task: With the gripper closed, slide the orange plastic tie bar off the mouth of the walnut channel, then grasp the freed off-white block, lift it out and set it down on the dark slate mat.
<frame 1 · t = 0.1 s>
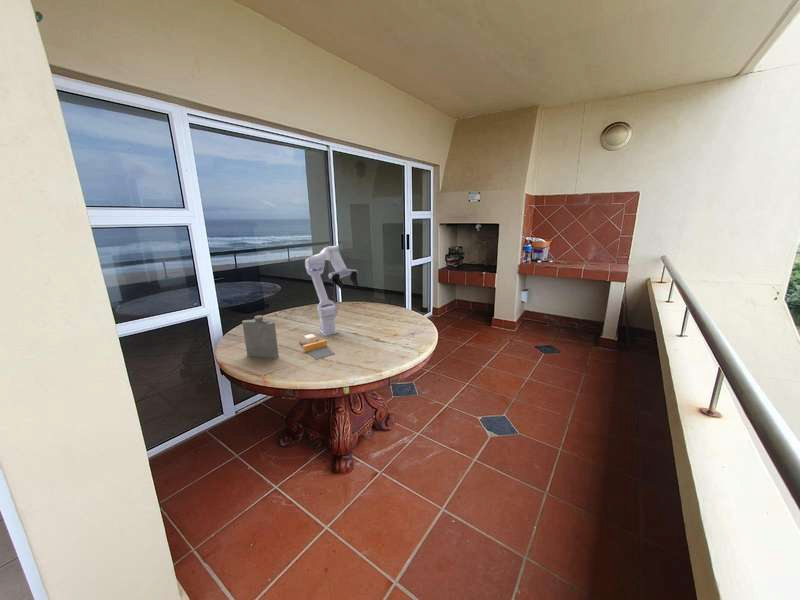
hand: (349, 287, 152), 32 cm above the table, tool tilted 50°, fingers open, 7 cm apart
white block: (310, 345, 166), on the table
slate mat: (321, 353, 156), on the table
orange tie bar: (315, 345, 161), point 2 cm above the table, slide at 0.0 cm
walnut channel: (310, 344, 166), on the table
hip flask: (263, 356, 154), on the table
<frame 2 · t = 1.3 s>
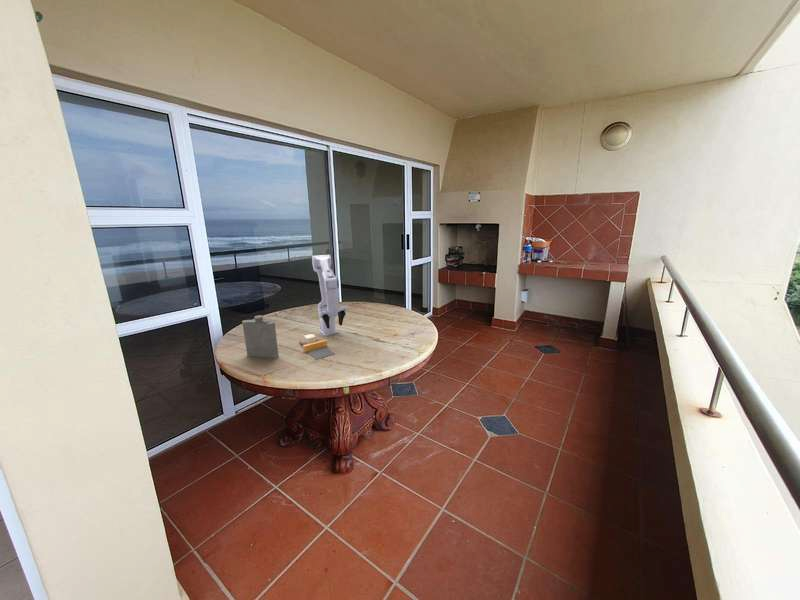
hand: (334, 326, 165), 9 cm above the table, tool pointing down, fingers open, 6 cm apart
nothing on the table moved.
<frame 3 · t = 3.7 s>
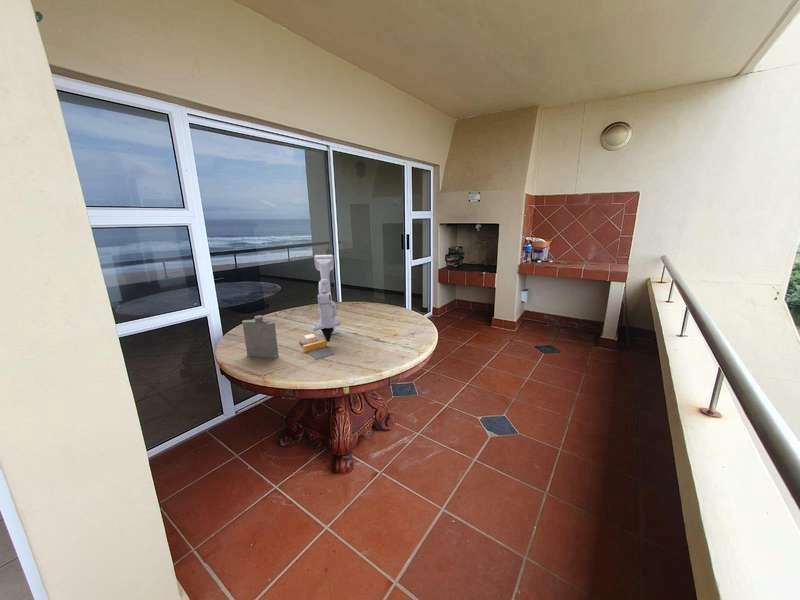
hand: (327, 341, 165), 2 cm above the table, tool pointing down, fingers closed
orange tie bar: (315, 345, 161), point 2 cm above the table, slide at 0.0 cm, touching gripper
everything else where it was.
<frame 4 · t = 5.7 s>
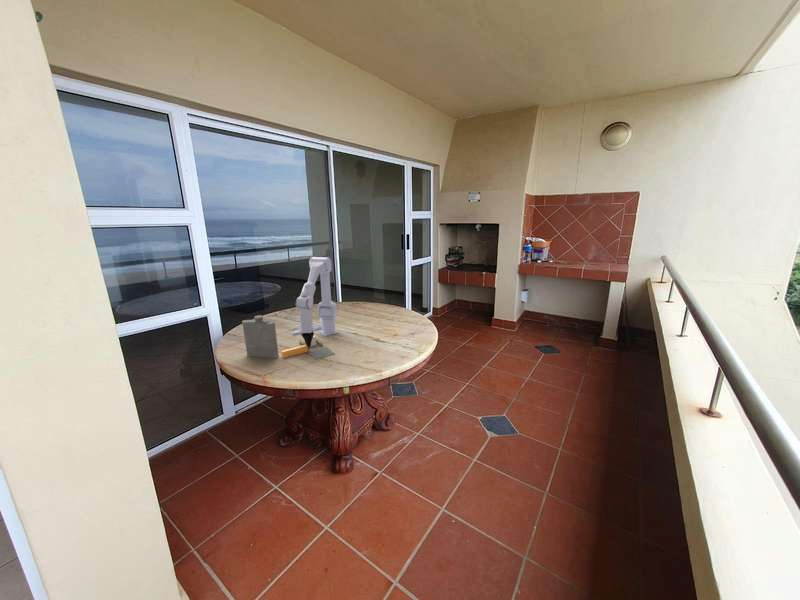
hand: (308, 346, 159), 2 cm above the table, tool pointing down, fingers closed
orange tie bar: (294, 351, 155), point 2 cm above the table, slide at 10.4 cm, touching gripper
everything else where it was.
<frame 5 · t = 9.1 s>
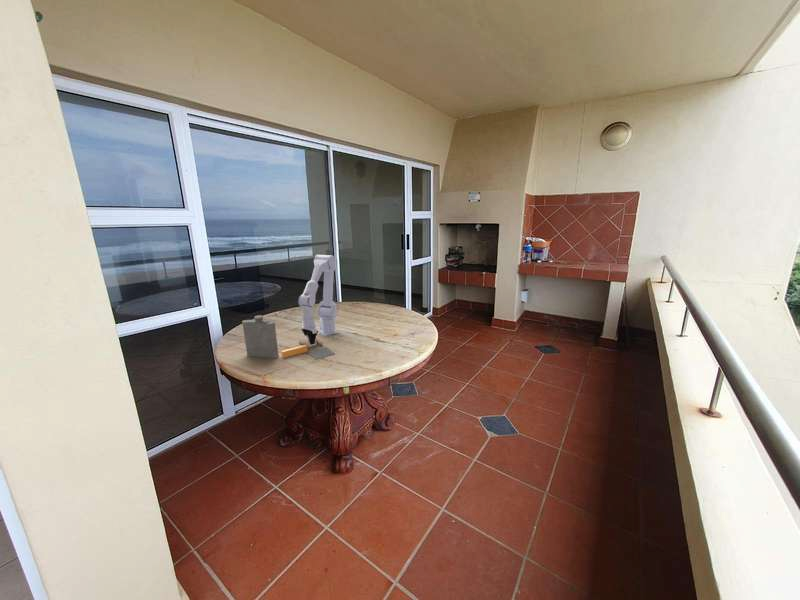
hand: (310, 342, 166), 1 cm above the table, tool pointing down, fingers closed on white block, 4 cm apart
white block: (310, 344, 166), on the table, touching gripper
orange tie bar: (294, 351, 155), point 2 cm above the table, slide at 10.4 cm
everything else where it was.
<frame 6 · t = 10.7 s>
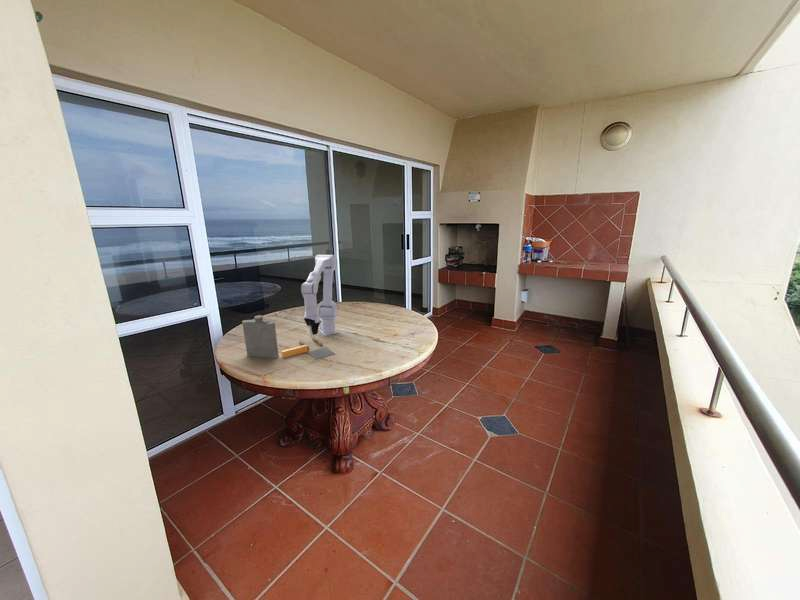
hand: (313, 332, 160), 9 cm above the table, tool pointing down, fingers closed on white block, 4 cm apart
white block: (313, 335, 160), point 7 cm above the table, touching gripper
everything else where it was.
when the fingers open (3 cm above the table, at t = 12.6 s): white block drops 1 cm, resting on slate mat.
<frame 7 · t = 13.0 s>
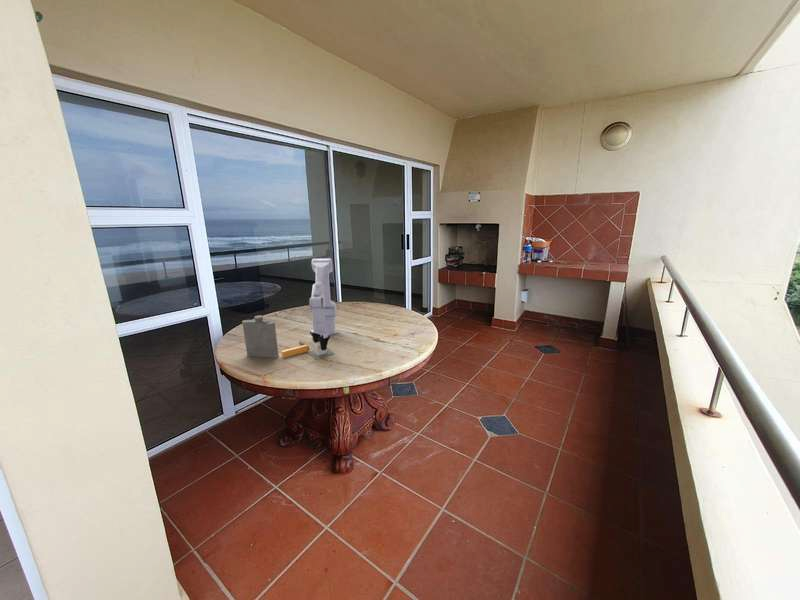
hand: (320, 347, 155), 3 cm above the table, tool pointing down, fingers open, 7 cm apart
white block: (320, 352, 156), resting on slate mat
everything else where it was.
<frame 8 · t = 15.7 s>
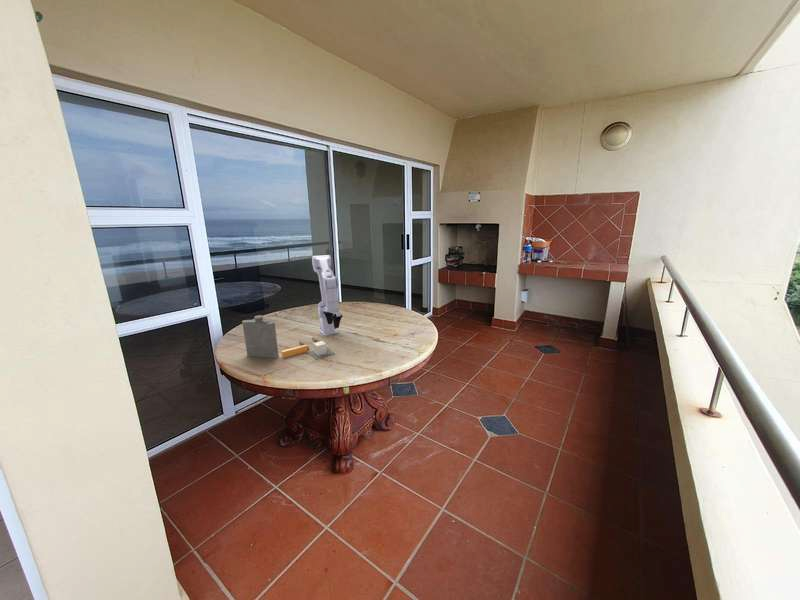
hand: (333, 325, 166), 9 cm above the table, tool pointing down, fingers open, 7 cm apart
nothing on the table moved.
at the end: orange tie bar slide at 10.4 cm; white block inside the target area (0.3 cm from its centre), resting on slate mat; white block tilted 0° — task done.
